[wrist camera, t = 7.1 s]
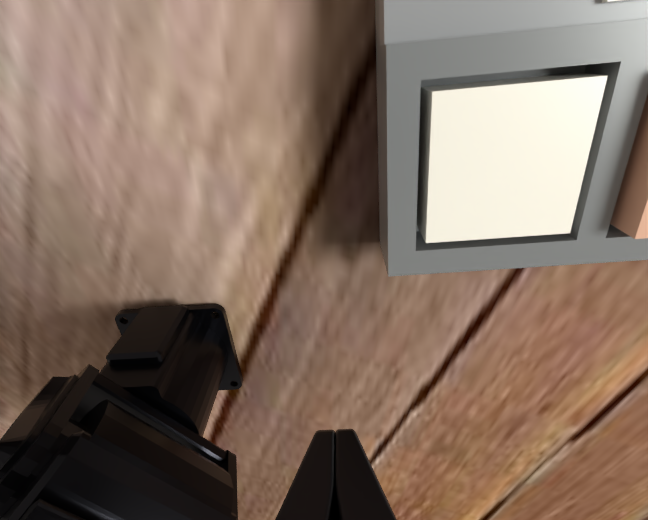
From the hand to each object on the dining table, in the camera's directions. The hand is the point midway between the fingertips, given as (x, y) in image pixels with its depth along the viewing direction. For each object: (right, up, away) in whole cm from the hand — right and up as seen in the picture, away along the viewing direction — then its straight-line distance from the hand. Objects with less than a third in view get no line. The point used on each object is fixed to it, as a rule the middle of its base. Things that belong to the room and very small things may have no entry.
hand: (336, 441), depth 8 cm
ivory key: (+7, +8, +8) cm, 14 cm away
